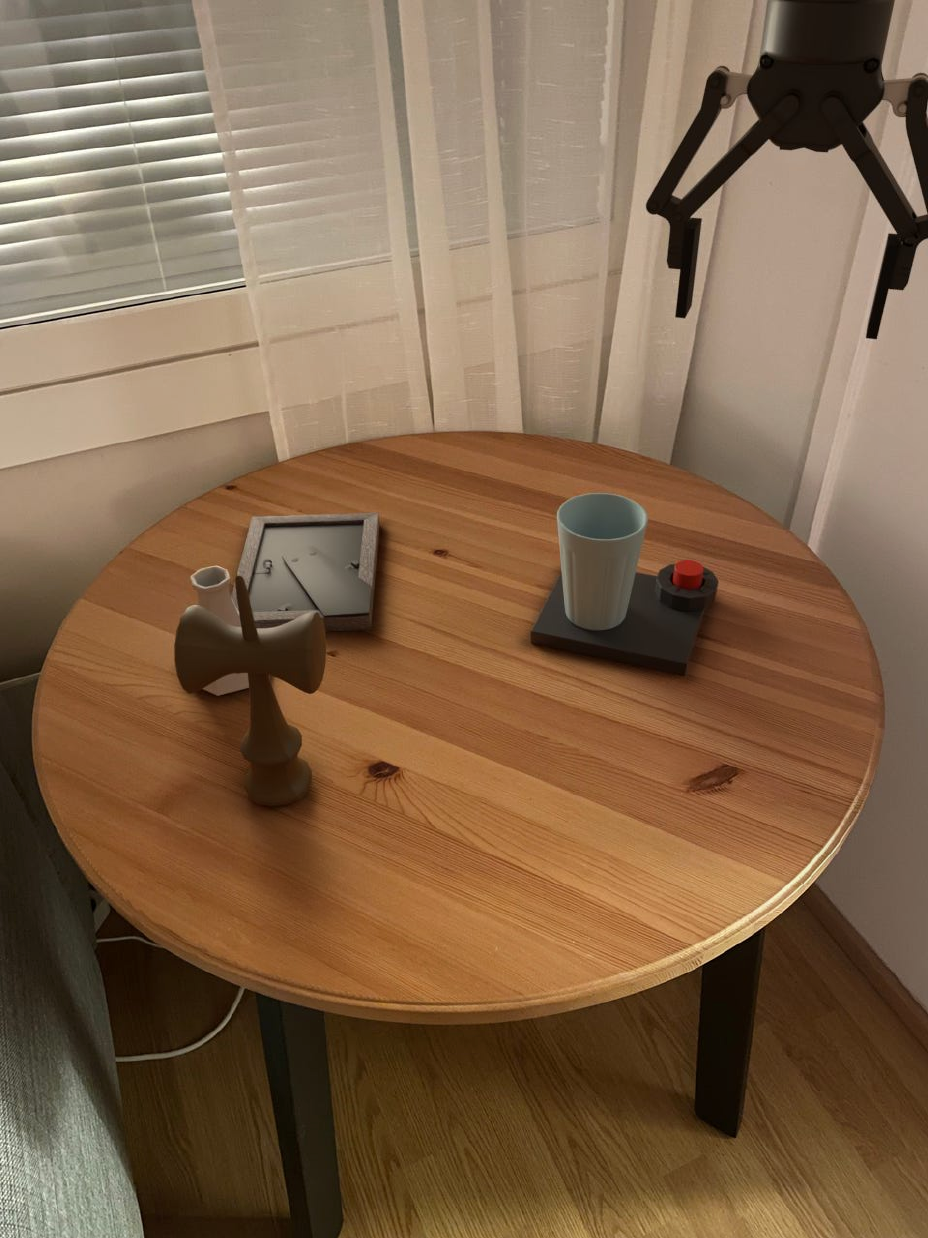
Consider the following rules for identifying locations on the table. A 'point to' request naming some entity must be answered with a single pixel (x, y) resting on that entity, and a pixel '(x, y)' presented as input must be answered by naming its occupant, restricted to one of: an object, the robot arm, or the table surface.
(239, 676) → the flask
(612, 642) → the scale
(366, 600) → the picture frame
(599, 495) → the cup
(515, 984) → the table surface
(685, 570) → the button
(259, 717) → the kendama
